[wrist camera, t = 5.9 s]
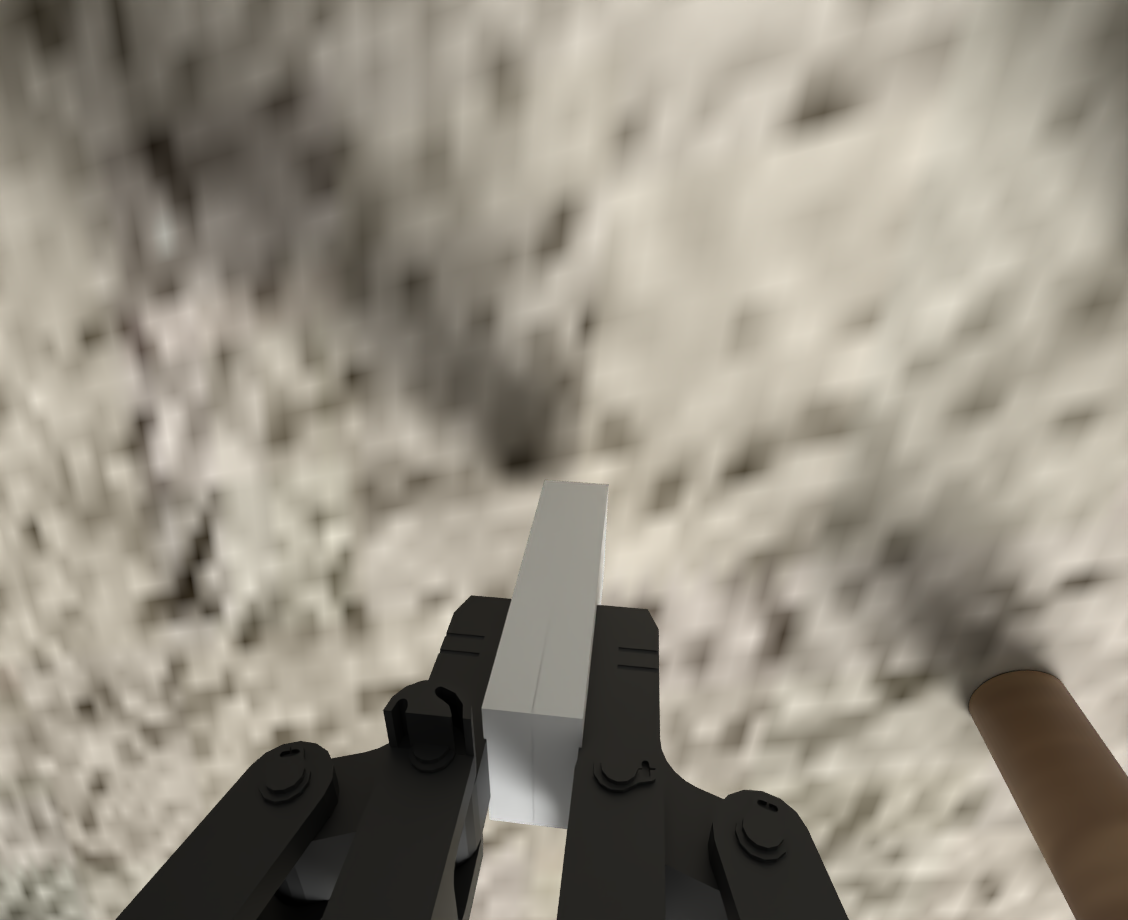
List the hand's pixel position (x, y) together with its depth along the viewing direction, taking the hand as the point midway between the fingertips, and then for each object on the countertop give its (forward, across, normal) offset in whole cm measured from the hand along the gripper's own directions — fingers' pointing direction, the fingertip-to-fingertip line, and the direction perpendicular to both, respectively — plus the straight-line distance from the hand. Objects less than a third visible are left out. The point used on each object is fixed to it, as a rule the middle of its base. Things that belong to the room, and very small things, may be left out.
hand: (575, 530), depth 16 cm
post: (+2, +13, -6) cm, 15 cm away
